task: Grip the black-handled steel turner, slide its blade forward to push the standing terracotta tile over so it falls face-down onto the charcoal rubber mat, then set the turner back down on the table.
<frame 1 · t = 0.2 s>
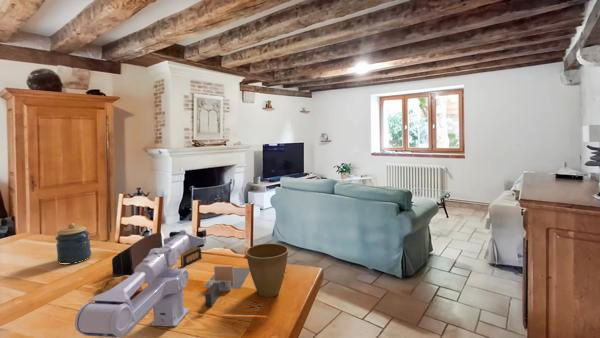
hand: (195, 232, 118), 21 cm above the table, tool horizontal, fingers open, 7 cm apart
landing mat: (229, 278, 127), on the table
canister: (75, 260, 150), on the table
plant pot: (268, 293, 115), on the table
tile: (224, 283, 121), resting on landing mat
turner: (215, 299, 111), on the table
ammunition clip: (191, 262, 144), on the table
letter holder: (139, 268, 140), on the table
croissant: (122, 293, 117), on the table
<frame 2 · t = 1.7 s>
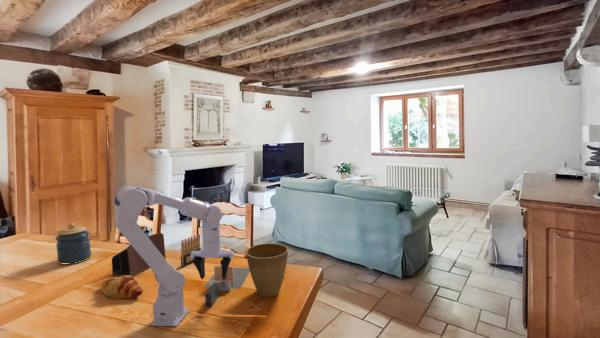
hand: (213, 277, 110), 8 cm above the table, tool pointing down, fingers open, 7 cm apart
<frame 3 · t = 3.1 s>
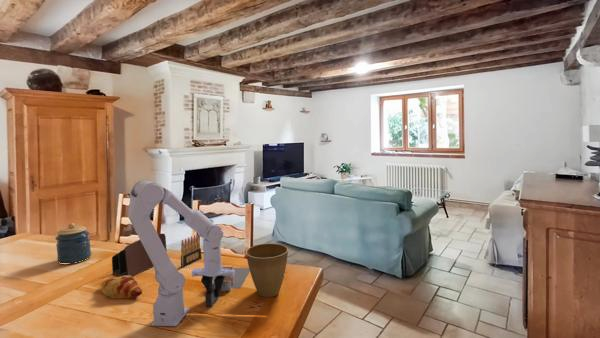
hand: (214, 295, 110), 1 cm above the table, tool pointing down, fingers closed on turner
turner: (215, 299, 111), on the table, touching gripper
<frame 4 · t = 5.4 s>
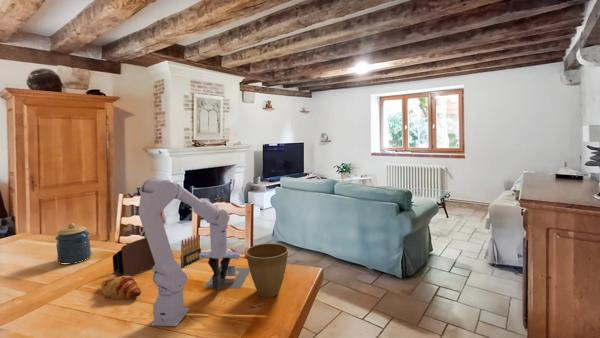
hand: (220, 277, 117), 5 cm above the table, tool pointing down, fingers closed on turner
tile: (225, 280, 122), point 1 cm above the table, tilted 90°, touching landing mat
turner: (221, 281, 118), point 3 cm above the table, touching gripper
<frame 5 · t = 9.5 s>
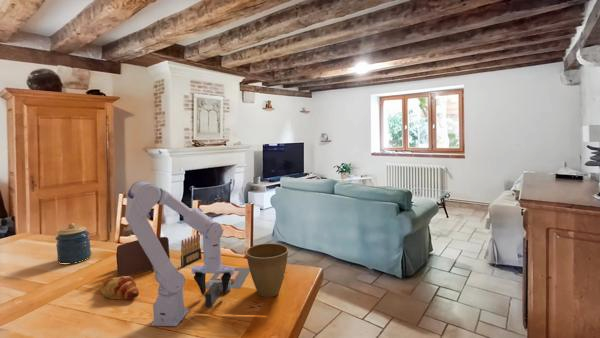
hand: (214, 293, 110), 2 cm above the table, tool pointing down, fingers open, 7 cm apart
turner: (215, 299, 111), on the table
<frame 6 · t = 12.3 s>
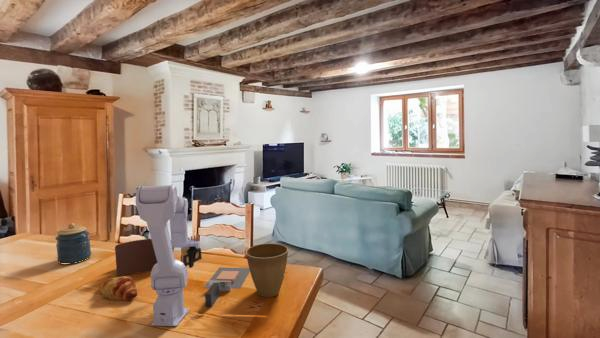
hand: (181, 266, 116), 9 cm above the table, tool pointing down, fingers open, 7 cm apart
at the end: tile tilted 90°; tile touching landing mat; turner on the table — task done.
